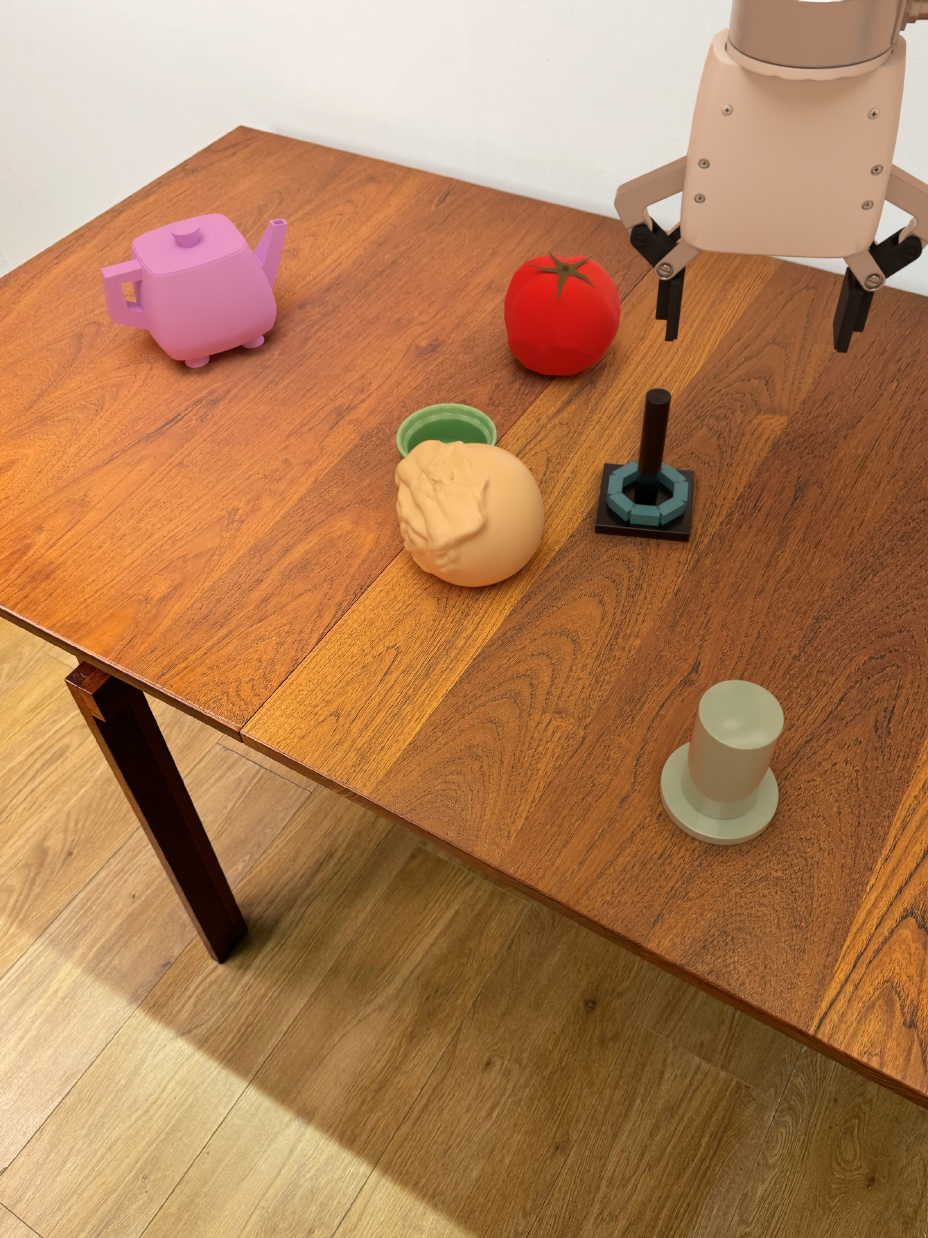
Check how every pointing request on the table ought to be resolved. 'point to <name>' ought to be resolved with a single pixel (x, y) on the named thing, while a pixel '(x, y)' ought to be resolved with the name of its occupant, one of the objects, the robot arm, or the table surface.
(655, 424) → the black peg stand
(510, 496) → the sculpture
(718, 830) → the ring stand
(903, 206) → the robot arm
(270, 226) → the teapot
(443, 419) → the ramekin
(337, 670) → the table surface
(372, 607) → the table surface
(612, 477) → the ring
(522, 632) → the table surface
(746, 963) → the table surface
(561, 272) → the tomato
